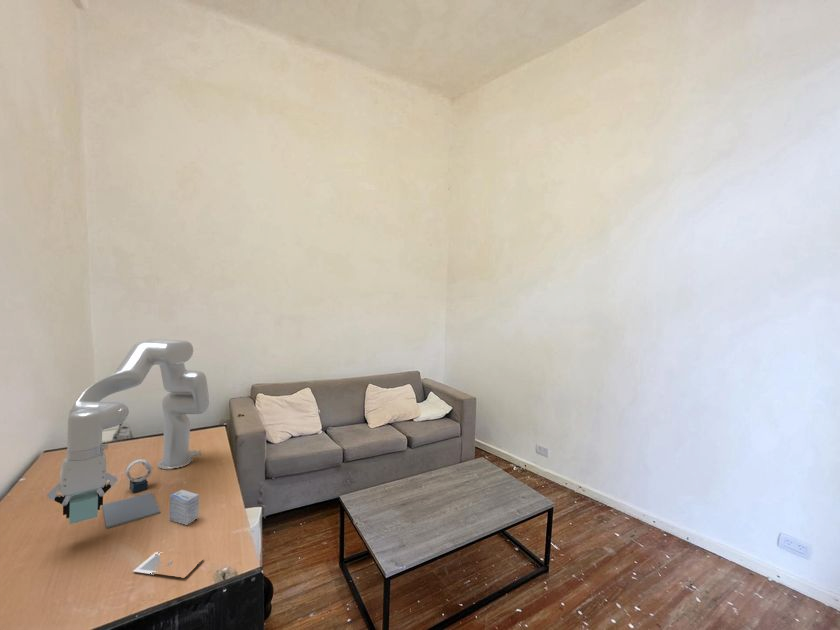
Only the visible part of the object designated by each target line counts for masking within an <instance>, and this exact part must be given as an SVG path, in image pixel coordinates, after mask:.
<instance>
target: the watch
mask: <svg viewBox="0 0 840 630" xmlns="http://www.w3.org/2000/svg"><path fill="white" fill-rule="evenodd" d="M139 463H141V464H142V465H143V467H144V468H145V469H146V470H147V473H146V474H145V475H144V476H143V475H142V476H139V477H136V478H134V477H132V476H131V474H130V469H131V468H132V466H134V465H135V464H139ZM152 470H153V467H152V466H151V464H150V463H149V461H147V459H145V458H144V459H143V458H138V459H136V460H134V461H132V462H130V463H129V464H128V465H127V467H126V469H125V474H126V476H127V478H128V480H129V489H130V491H131V493H132V494H136V493H137V494H138V493H140V492H144V491H147V490H148V487H149V486H148V484H149V483H148V481H149V480H147V479H148V478H149V477H150V476H151V474H152V472H153V471H152Z"/></svg>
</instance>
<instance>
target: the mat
mask: <svg viewBox="0 0 840 630" xmlns="http://www.w3.org/2000/svg"><path fill="white" fill-rule="evenodd" d="M101 507H102V512H103V518H104V522H105V528H106V530H107V529H111V528H113V527H117V526H120V525H124V524H128V523H131V522H135V521H138V520H142V519H144V518H149V517H152V516H155V514H156V515H158V513H159V514H161V510H160V508H159V505H158V502H157V500H156V499H155V497H154V493H153V492H148V493H143V494H140V495H136V496H135V495H134V496H132V497H129V498H124V499H120V500H116V501H115V500H114V501H113V502H109V503H103V505H101Z"/></svg>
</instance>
